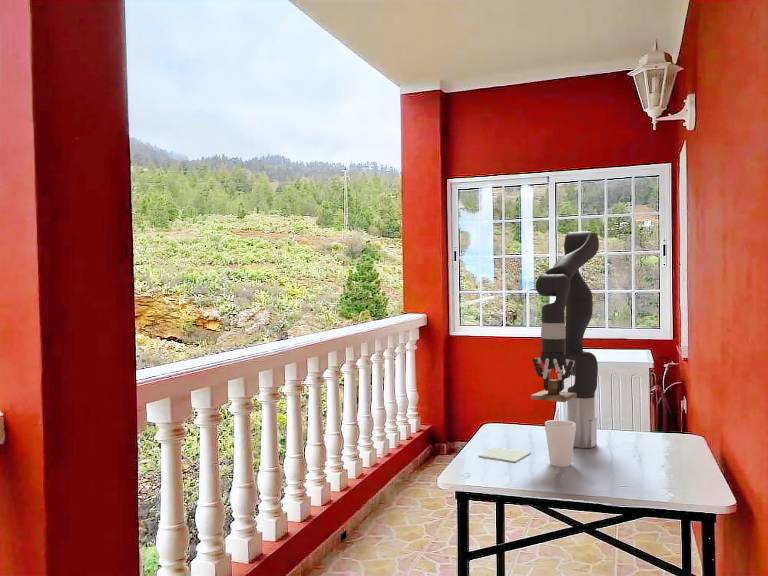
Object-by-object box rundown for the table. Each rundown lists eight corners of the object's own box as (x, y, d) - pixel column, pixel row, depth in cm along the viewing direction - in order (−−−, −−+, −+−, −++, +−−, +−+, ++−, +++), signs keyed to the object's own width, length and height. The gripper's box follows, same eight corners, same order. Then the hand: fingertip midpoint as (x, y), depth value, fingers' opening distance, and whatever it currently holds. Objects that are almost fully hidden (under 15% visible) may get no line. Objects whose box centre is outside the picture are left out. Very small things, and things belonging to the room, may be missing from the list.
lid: (576, 396, 212) (576, 379, 212) (564, 402, 203) (564, 384, 203) (543, 393, 218) (543, 376, 218) (530, 398, 209) (530, 381, 209)
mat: (530, 453, 222) (530, 452, 222) (515, 462, 212) (515, 461, 212) (495, 448, 230) (495, 447, 230) (478, 457, 219) (478, 455, 219)
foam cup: (563, 470, 203) (563, 427, 203) (539, 463, 210) (539, 422, 210) (581, 464, 209) (581, 423, 209) (557, 458, 216) (557, 418, 216)
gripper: (579, 337, 210) (579, 391, 210) (536, 335, 218) (537, 387, 218) (571, 338, 203) (571, 394, 204) (527, 336, 212) (528, 390, 212)
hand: (553, 390), depth 211 cm, fingers closed on lid, 3 cm apart
